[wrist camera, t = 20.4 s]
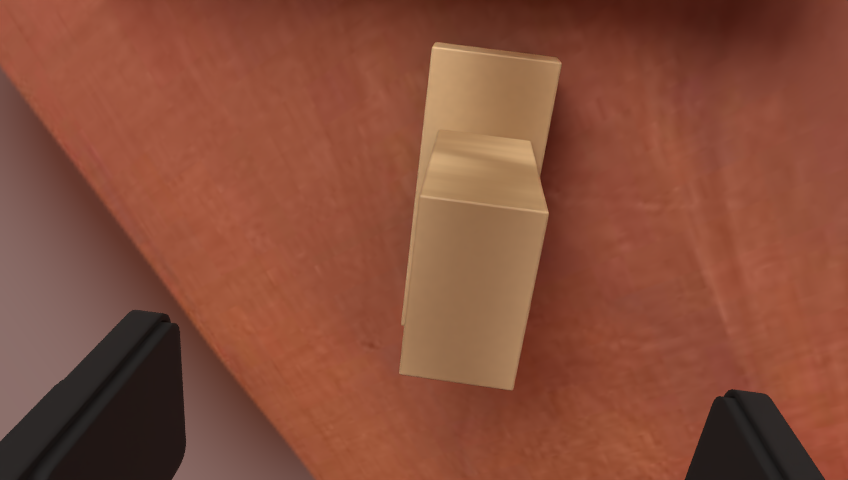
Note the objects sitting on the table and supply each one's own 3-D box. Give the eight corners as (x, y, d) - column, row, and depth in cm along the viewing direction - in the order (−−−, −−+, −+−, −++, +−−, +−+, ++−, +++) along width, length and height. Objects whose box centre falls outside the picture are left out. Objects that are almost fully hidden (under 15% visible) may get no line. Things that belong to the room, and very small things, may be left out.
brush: (408, 293, 26) (372, 447, 18) (437, 37, 22) (408, 81, 14) (506, 307, 26) (516, 469, 18) (554, 52, 22) (595, 105, 14)
